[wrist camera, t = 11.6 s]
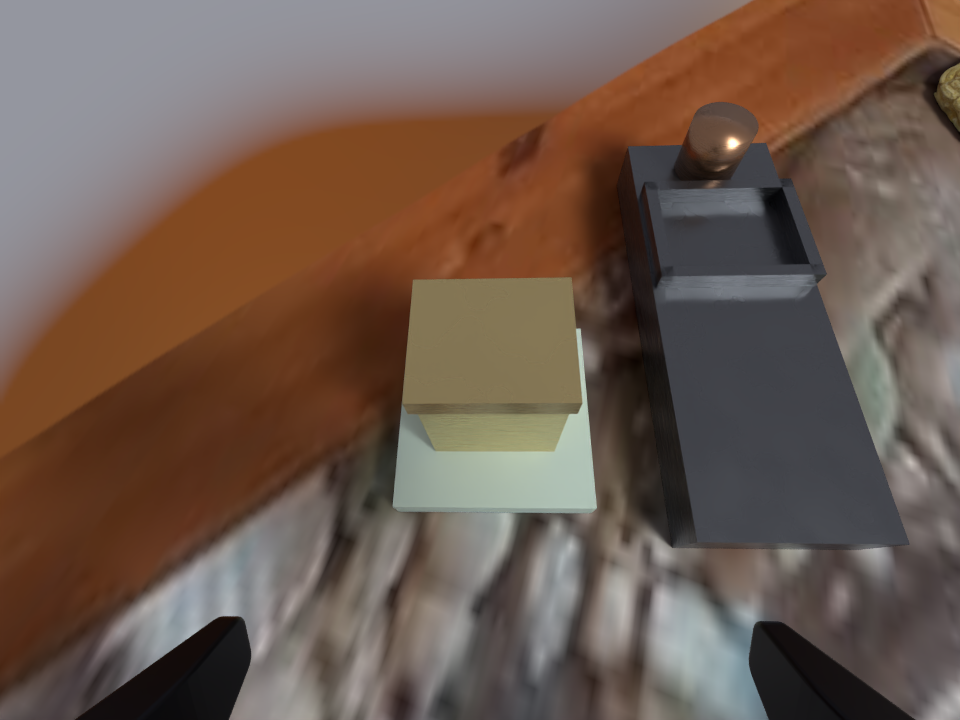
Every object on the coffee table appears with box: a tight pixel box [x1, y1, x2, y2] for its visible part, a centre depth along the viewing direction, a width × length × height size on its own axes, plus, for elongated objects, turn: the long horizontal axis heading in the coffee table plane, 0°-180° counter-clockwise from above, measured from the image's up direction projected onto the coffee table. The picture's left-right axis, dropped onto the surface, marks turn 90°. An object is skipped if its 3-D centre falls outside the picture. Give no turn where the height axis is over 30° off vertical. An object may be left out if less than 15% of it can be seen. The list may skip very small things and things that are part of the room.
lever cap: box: [402, 278, 583, 452], centre depth 19 cm, size 5×6×8 cm
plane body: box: [617, 102, 910, 550], centre depth 23 cm, size 22×8×6 cm, turn 179°
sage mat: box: [393, 329, 597, 513], centre depth 23 cm, size 9×9×2 cm
